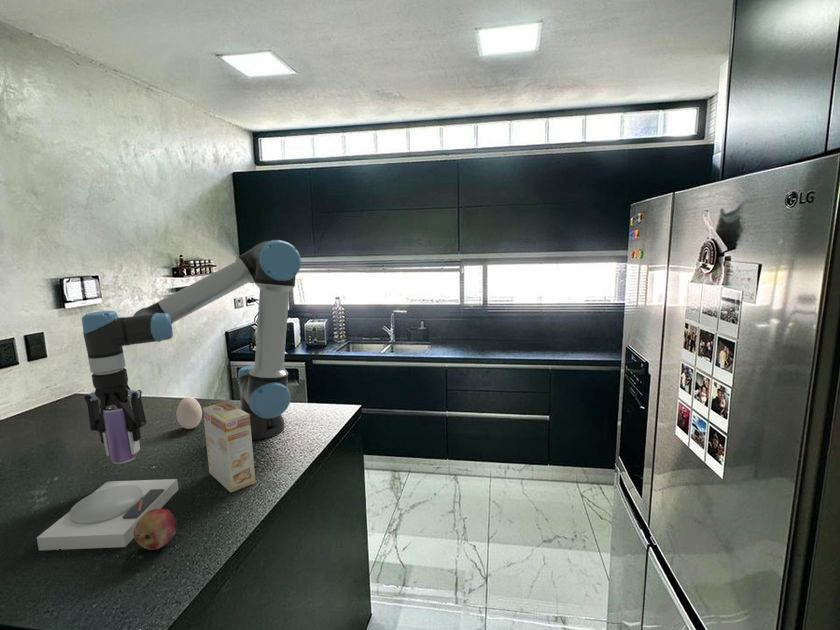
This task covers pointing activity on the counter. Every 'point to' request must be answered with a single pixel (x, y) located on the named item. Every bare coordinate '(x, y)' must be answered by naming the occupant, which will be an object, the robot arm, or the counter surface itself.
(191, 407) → the egg
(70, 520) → the scale
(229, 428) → the coffeecake box
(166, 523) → the fruit
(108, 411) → the beverage can
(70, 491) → the counter surface
